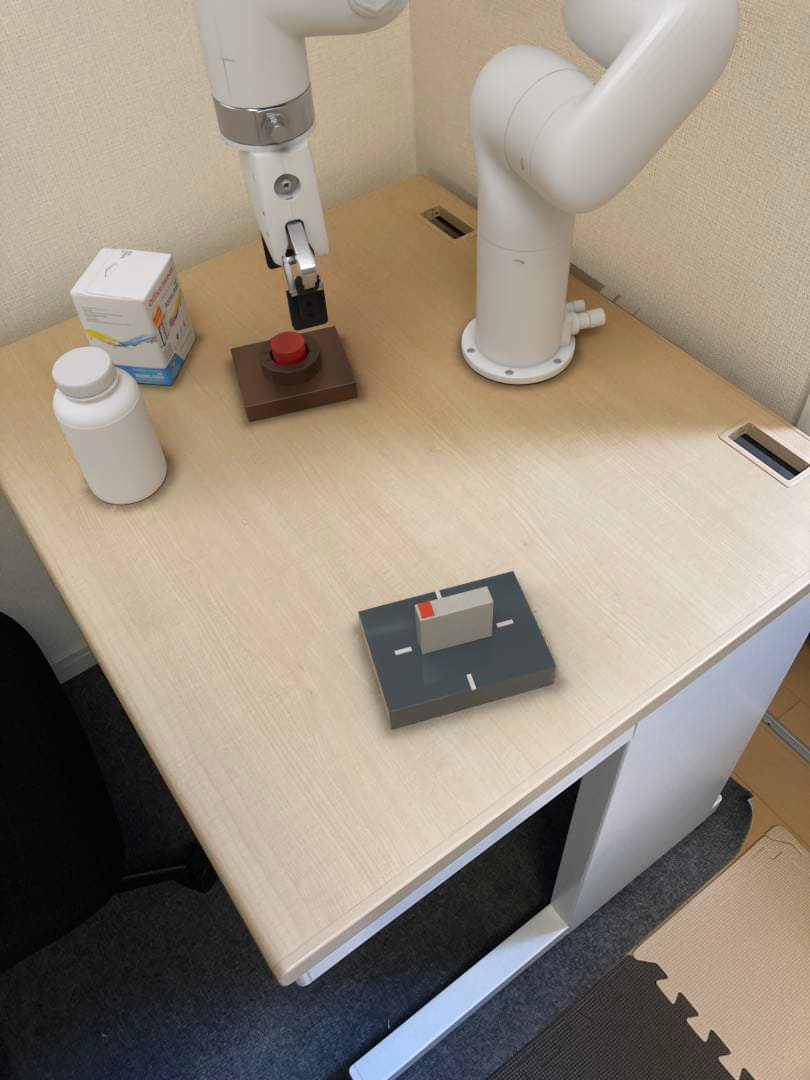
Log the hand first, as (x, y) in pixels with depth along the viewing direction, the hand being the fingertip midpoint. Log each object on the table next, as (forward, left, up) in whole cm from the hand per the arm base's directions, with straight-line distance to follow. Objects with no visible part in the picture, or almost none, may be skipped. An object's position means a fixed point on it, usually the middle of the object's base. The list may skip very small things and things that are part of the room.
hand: (297, 294), depth 83 cm
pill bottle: (+20, +2, -16) cm, 26 cm away
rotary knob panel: (-5, +32, -16) cm, 36 cm away
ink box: (+16, -16, -16) cm, 28 cm away
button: (+1, -7, -13) cm, 15 cm away
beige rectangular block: (-5, +32, -13) cm, 35 cm away
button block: (+1, -7, -16) cm, 18 cm away
